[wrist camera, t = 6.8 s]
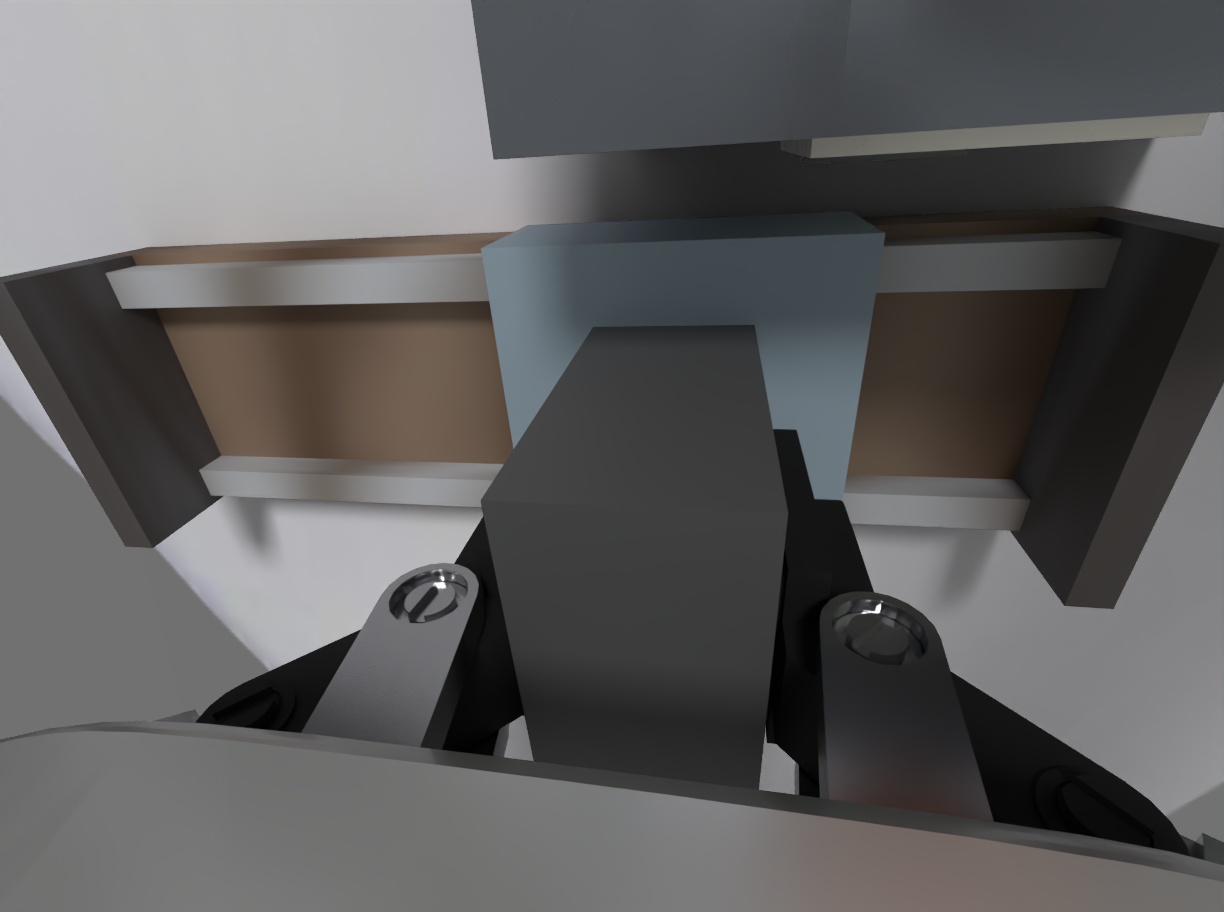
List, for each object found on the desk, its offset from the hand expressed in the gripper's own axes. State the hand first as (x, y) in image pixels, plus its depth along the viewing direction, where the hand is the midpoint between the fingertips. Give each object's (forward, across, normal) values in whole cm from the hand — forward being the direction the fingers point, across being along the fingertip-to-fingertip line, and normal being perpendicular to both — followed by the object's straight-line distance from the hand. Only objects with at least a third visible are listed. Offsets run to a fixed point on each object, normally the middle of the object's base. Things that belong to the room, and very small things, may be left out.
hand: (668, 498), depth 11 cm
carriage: (+4, 0, 0) cm, 4 cm away
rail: (+7, +4, 0) cm, 8 cm away
